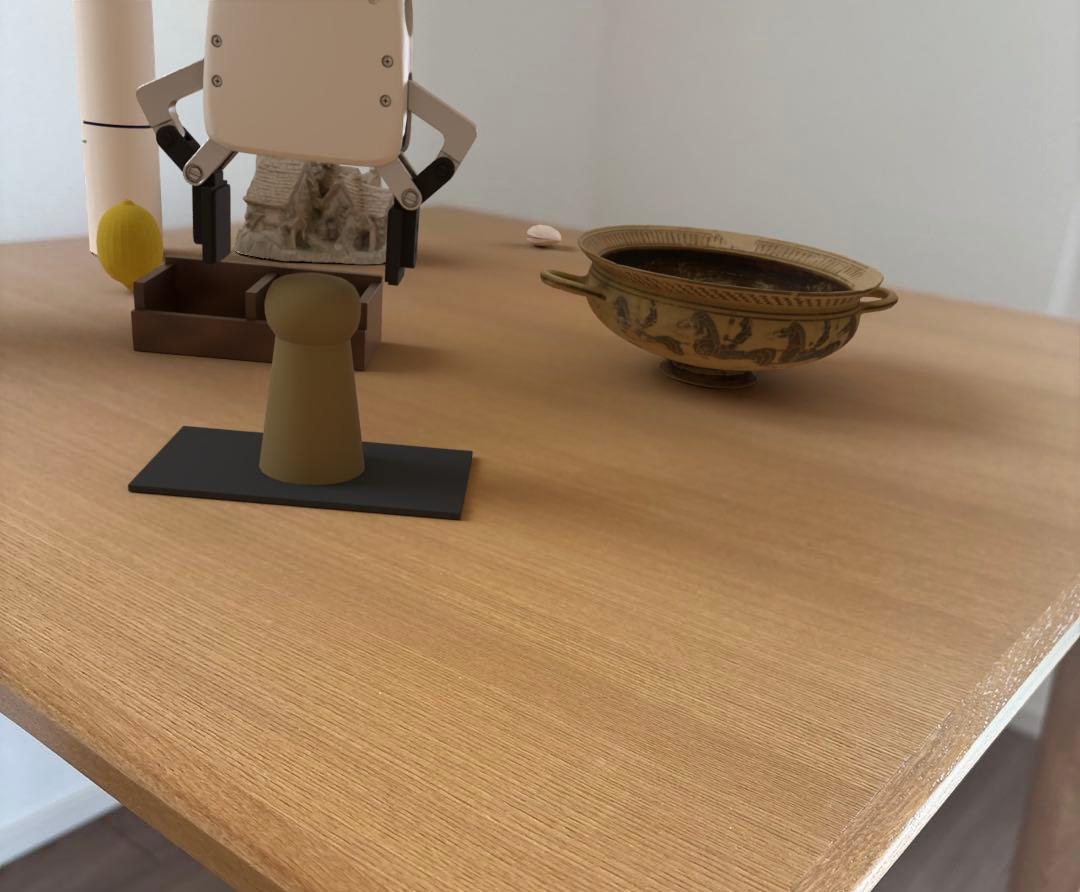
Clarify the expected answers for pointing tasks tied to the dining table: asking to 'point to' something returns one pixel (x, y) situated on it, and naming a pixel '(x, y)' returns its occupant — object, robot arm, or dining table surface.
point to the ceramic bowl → (722, 299)
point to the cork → (312, 382)
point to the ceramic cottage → (315, 213)
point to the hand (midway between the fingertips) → (306, 270)
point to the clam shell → (543, 235)
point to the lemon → (128, 243)
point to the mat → (384, 486)
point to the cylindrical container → (116, 107)
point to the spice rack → (232, 309)
